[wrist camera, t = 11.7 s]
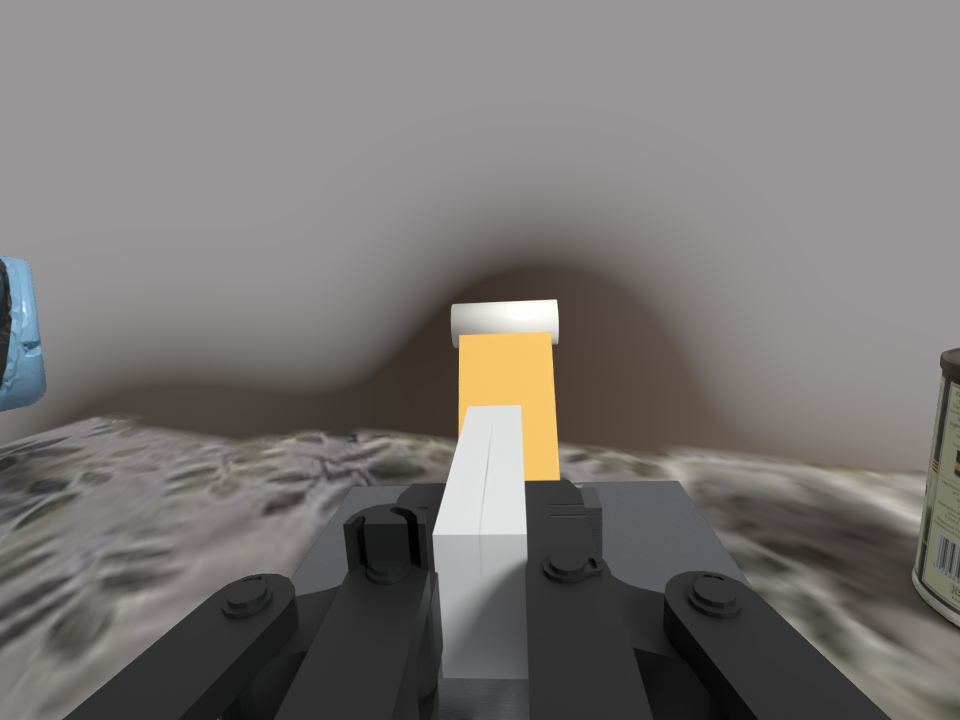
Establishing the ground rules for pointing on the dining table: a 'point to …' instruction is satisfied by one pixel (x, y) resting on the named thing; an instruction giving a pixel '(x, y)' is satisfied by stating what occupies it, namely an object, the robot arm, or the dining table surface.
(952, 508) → the coffee can
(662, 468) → the dining table surface
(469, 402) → the lever
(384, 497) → the switch panel
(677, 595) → the robot arm
